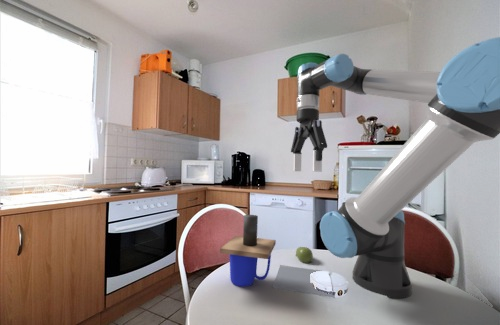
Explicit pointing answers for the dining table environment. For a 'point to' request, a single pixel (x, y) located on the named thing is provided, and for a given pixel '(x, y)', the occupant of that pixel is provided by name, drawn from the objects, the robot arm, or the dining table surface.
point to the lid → (249, 241)
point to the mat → (296, 280)
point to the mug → (245, 270)
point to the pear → (304, 254)
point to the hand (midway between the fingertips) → (306, 171)
